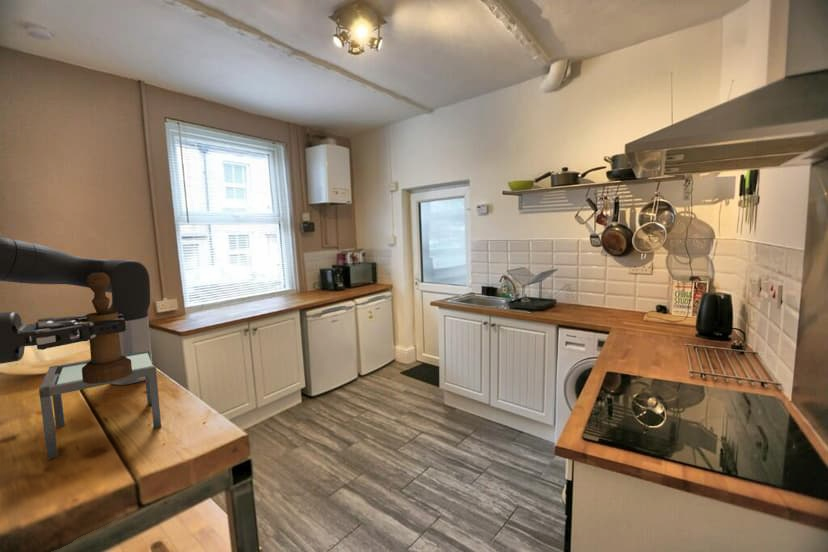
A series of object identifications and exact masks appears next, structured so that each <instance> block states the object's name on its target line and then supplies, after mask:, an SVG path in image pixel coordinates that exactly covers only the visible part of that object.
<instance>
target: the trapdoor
mask: <svg viewBox="0 0 828 552" xmlns="http://www.w3.org/2000/svg"><path fill="white" fill-rule="evenodd" d="M127 358H128V359H130V360H131V365H132V370H134V369H139V368H144V367H150V366H152V365H153V362H152V363H151V361H150V358H149V355H148V353H145V354H139V355H133V356H127ZM85 365H86V364H81V365H76V366H70V367H64V368H62V371H61V374H59V380H58V382H57V384H62V383H67V382H72V381H77V380H82V368H83V367H84V366H85Z"/></svg>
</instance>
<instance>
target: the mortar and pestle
mask: <svg viewBox="0 0 828 552" xmlns="http://www.w3.org/2000/svg"><path fill="white" fill-rule="evenodd" d="M86 283H87V285H88V286H89V288H88V289H90V290H91V291H92V292H93V294H94V295H93V299H91V304H92V305H93V308H94V309H95V312H91V313H87V314H86V315H87V322H88V321H92V322H95V324H96V321H104V320H112V319H118V312H117V311H108V308H109V307H110V306H109V305H110V301H111V300H110V298H109V297H107V295H106V293H107V292H106V290H107V288H108V286H109V284H110V278H109V276H108V275H107V274H106V273H103V272H97V273H91V274H90V275H89V276H88V277H87V279H86ZM88 342H89V351H90V360H91V361H89V362H88V363H87V364H86V365H85V366H84V367H83V368H82V379H83V382H84V383H89V384H95V383H104V382H110V381H114V380H118V379H121V378H124V377H127V376H129V375H130V374H131V373H132V365H131V360H130V359H128V358H127V357H125V356H121V347H120V336H119V332H118V333H111V334H104V335H97V334H96V337H93V338H91V340H88Z"/></svg>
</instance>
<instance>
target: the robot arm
mask: <svg viewBox="0 0 828 552" xmlns="http://www.w3.org/2000/svg"><path fill="white" fill-rule="evenodd" d="M148 271H149V270H148V269H147V268H146V266H145V265H144V264H143V263H142V262H140V261H137V260H134V259H133V260H132V259H104V258H103V259H102V258H101V259H99V258H91V257H83V256H77V255H73V254H70V253H67V252H64V251H62V250H59V249H55V248H54V247H53V248H52V247H50V246H46V245H42V244H39V243H35V242H29V241H25V240H19V239H13V238H8V237H3V236H1V237H0V282H9V283H18V284H29V285H31V284H33V285H70V286H78V287H82V288H88V289H90V288H89V286H88V285H87V283H86V279H87V277H88V276H89V275H90V274H91V273H97V272H103V273H106V274H107V275H108V276H109V278H110V284H109V286H108V288H107V290H106V293H110V294H111V305H110V306H109V307H108V311H117V312H118V319H112V320H104V321H96V324H95V322H92V321H88V322H87V314H85V315H74V316H60V317H53V316H52V317H45V318H39V319H37V321H35V323H29V324H23V323H22V318H21V316H20V315H19V313H18V312H16V311H7V312H0V365H1V364H7V363H8V364H9V363H14V362H18V361H19V362H20V360H22V358H24V355H25V347H34V346H36V349H37V350H41V351H43V350H47V349H50V348H57V347H61V346H66V345H71V344H77V343H82V342H89V340H91V338H93V337H96V334H97V335H104V334H111V333H118V332H119V336H120V347H121V355H122V354H128V353H134V352H140V351H146V350H149V351H150V361H151V363H152V366H154V365H153V356H152V345H151V334H150V333H151V332H150V325H149V324H150V321H149V309H150V306H151V305H150V304H151V282H150V280H151V279H150V274H149V272H148ZM143 381H145V377H140V378H135V379H130V380H126V381H121V382H116V383H111V384H112V385H117V386H122V385H123V386H124V385H131V384H135V383H139V382H143Z"/></svg>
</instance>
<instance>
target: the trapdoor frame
mask: <svg viewBox="0 0 828 552" xmlns="http://www.w3.org/2000/svg"><path fill="white" fill-rule="evenodd" d="M145 353H148V355H149V358H150V351H149V350H146V351H140V352H134V353H128V354H122V355H121V356H125V357H127V356H133V355H139V354H145ZM89 361H91V359H88V360H82V361H75V362H71V363H70V362H69V363H64V364H58V365H51V366H49V367H48V369H47V372H46V374H45V376H44V378H43V381H42V383H41V385H40V386H39V389H38V391H39V398H40V400H39V401H40V402H39V403H40V408H41V416H42V417H41V418H42V424H43V433H44V440H45V447H46V448H45V449H46V457H47V460H48V461H49V460H51V458H52V459H56V458H58V456H59V452H58V443H57V436H56V429H59V428H64V427H65V425H66V422H65V413H64V407H63V406H64V405H63V396H62V395H63V394H67V393H71V392H77V391H80V390H81V391H82V390H85V389H86V390H87V389H91V388H96V387H100V386H105V385H106V386H107V385H111V384H112V383H116V382H121V381H126V380H130V379H135V378H140V377H145V380H144V381H145V391H146V402H147V406H151V412H152V413H151V414H152V415H151V416H152V426H153V429H154V430H156V429H159V428H162V421H161V419H162V418H161V409H160V397H159V386H158V376H157V366H156V365H153V366H150V367H144V368H139V369H134V370H132V373H131V374H130V375H129V376H127V377H124V378H121V379H118V380H114V381H110V382H104V383H95V384H89V383H84V382H83V379H82V380H77V381H72V382H67V383H62V384H57V382H58V380H59V377H60V374H61V371H62V368H64V367H70V366H76V365H81V364H87V363H88V362H89ZM53 409H54V410H53ZM55 457H56V458H55Z"/></svg>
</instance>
